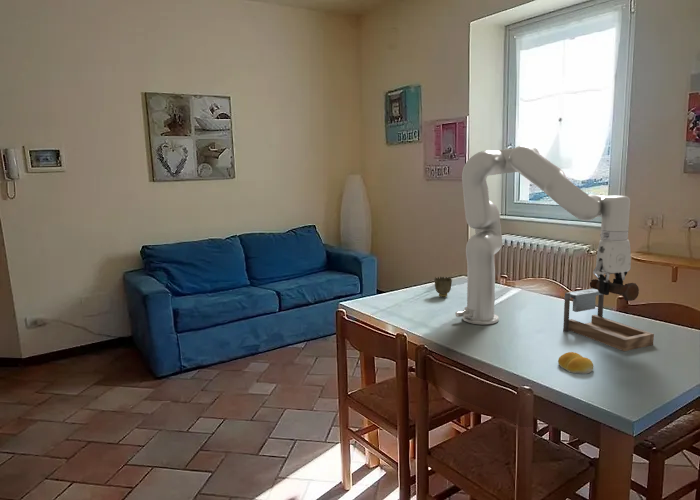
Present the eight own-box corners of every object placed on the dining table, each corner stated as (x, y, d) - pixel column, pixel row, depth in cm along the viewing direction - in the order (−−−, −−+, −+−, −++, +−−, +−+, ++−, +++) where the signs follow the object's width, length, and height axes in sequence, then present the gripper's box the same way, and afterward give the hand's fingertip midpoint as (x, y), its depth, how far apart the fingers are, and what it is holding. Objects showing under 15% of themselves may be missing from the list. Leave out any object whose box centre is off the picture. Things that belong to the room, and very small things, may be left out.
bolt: (594, 294, 168) (634, 304, 154) (584, 288, 166) (623, 298, 152) (601, 278, 168) (641, 286, 155) (591, 272, 167) (631, 280, 153)
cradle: (618, 352, 150) (621, 310, 148) (562, 330, 171) (563, 292, 168) (658, 343, 156) (661, 302, 154) (599, 323, 177) (601, 287, 174)
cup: (453, 298, 213) (453, 280, 212) (435, 299, 213) (435, 280, 212) (450, 294, 220) (450, 276, 219) (433, 294, 220) (433, 276, 219)
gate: (574, 313, 168) (575, 295, 167) (565, 310, 171) (566, 292, 170) (602, 308, 172) (603, 291, 171) (592, 305, 176) (593, 288, 175)
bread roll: (577, 377, 135) (578, 363, 135) (552, 365, 143) (553, 351, 143) (601, 372, 138) (602, 358, 137) (575, 360, 146) (576, 347, 146)
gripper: (603, 239, 151) (600, 299, 154) (644, 235, 158) (640, 292, 161) (583, 236, 158) (580, 293, 161) (623, 232, 164) (620, 287, 168)
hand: (610, 292), depth 161 cm, fingers closed on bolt, 5 cm apart
